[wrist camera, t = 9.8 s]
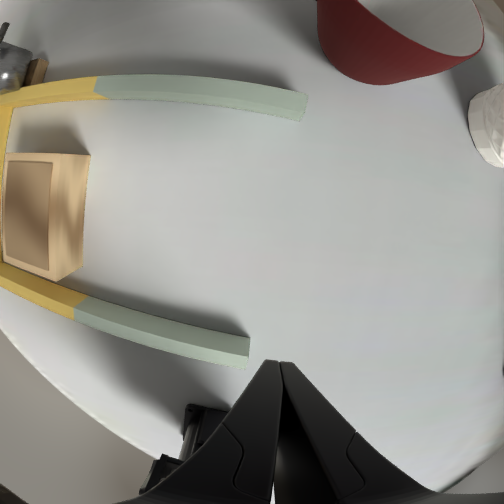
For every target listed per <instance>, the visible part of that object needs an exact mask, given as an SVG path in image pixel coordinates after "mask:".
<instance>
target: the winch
mask: <svg viewBox="0 0 504 504" xmlns="http://www.w3.org/2000/svg"><path fill="white" fill-rule="evenodd" d="M9 25H10V24H9V23H7V22H5V23H3V24H2V26H1V28H0V49H1V50H0V95H2V94H6V93H10V92H14V91H18V90H20V88H23V87H27V86H32V85H37V84H42V81H43V78H44V75H45V72H46V69H47V66H48V63H49V62H47V61H45V60H43V59H40V58H38V59H35V60H31V59H32V56H33V54H32V53H31V52H30V51H28V50H26V49H23V48H19V47H17V46H14V45H11V44H9V43H6V42H3V41H2V40H3V38H4V36H5V34H6V31H7V29H8V27H9Z"/></svg>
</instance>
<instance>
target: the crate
mask: <svg viewBox="0 0 504 504" xmlns="http://www.w3.org/2000/svg"><path fill="white" fill-rule="evenodd" d="M90 158H91V156H90V155H76V154H57V153H6V158H5V167H4V178H3V192H2V243H3V258H4V261H5V262H7V263H10V264H12V265H14V266H17V267H19V268H22V269H24V270H27V271H29V272H32V273H34V274H37V275H40V276H42V277H45V278H48V279H50V280H53V281H56V282H57V281H58V280H60V279H62V278H63V277H65V276H67V275H69V274H70V273H72V272H74V271H76V270H77V269H79V268H81V267H83V227H84V211H85V199H86V189H87V180H88V172H89V165H90Z"/></svg>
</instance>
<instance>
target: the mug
mask: <svg viewBox="0 0 504 504" xmlns="http://www.w3.org/2000/svg"><path fill="white" fill-rule="evenodd" d="M316 1H317V27H318V37H319V41H320V44H321V47H322V49H323V51H324V53H325V55H326V56H327V58H328V59H329V61H330V62H331V63H332V64H333V65H334V66H335V67H336V68H337V69H338V70H339V71H340V72H341V73H343V74H344V75H346V76H348V77H349V78H352V79H354V80H356V81H359V82H362V83H366V84H372V85H389V84H394V83H399V82H403V81H407V80H411V79H416V78H420V77H425V76H429V75H433V74H437V73H440V72H443V71H445V70H448V69H450V68H452V67H454V66H456V65H458V64H460V63H462V62H464V61H465V60H467V59H469V58H471V57H473V56H474V55H475V54H477V53H478V52H479V51H480V49H481V48H482V45H483V42H484V28H483V23H482V20H481V17H480V14H479V12H478V10H477V7H476V5H475V4H474V2H473V0H316Z"/></svg>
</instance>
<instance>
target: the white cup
mask: <svg viewBox="0 0 504 504" xmlns="http://www.w3.org/2000/svg"><path fill="white" fill-rule="evenodd" d="M468 121H469V129H470V133H471V136H472V139H473V141H474V144H475V147H476V149H477V150H478V151H479V153H480V154H481V156H482V157H483V158H484V160H485V161H486V162H488V163H490V164H492V165H493V166H495V167H502V168H504V83H501V84H499V85H497V86H495V87H493V88H491V89H489V90H486V91H483V92H480V93H478V94H477V95H476V96H475V97H474V98H473V99H472V100H471V101H470V105H469V110H468Z"/></svg>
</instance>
